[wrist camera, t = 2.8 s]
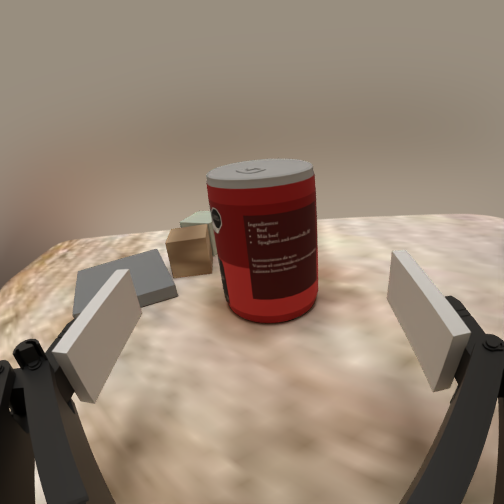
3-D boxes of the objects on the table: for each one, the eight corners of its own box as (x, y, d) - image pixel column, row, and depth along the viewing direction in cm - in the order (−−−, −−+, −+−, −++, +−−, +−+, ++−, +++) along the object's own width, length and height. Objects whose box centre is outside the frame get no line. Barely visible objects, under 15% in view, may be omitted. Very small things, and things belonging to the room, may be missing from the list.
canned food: (254, 270, 32) (241, 158, 28) (331, 284, 28) (329, 159, 23) (206, 311, 26) (182, 179, 22) (294, 336, 22) (285, 180, 18)
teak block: (212, 257, 36) (207, 223, 34) (212, 274, 33) (205, 237, 31) (178, 262, 36) (171, 229, 34) (173, 278, 32) (165, 243, 31)
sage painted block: (203, 240, 41) (198, 210, 39) (231, 242, 39) (226, 211, 38) (186, 253, 38) (179, 222, 36) (214, 257, 36) (208, 223, 35)
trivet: (159, 257, 37) (157, 248, 37) (178, 295, 29) (175, 284, 28) (81, 280, 34) (77, 271, 33) (77, 325, 25) (72, 314, 25)
